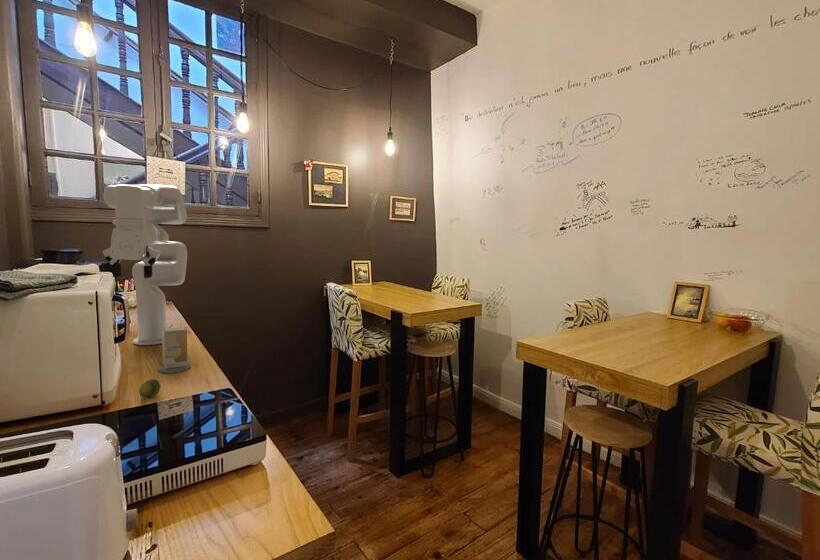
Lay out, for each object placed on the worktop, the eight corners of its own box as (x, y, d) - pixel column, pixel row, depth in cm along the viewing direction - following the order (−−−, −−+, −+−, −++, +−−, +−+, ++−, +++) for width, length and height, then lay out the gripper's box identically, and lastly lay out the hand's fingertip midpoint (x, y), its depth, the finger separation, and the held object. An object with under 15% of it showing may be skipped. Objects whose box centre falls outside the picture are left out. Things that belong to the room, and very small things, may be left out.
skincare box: (165, 369, 125) (163, 331, 124) (163, 365, 129) (162, 328, 127) (188, 366, 129) (187, 328, 128) (186, 362, 133) (185, 326, 131)
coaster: (167, 364, 133) (167, 361, 133) (195, 364, 133) (195, 362, 133) (152, 373, 124) (151, 371, 124) (182, 374, 124) (182, 371, 124)
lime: (137, 401, 104) (136, 382, 104) (146, 393, 109) (145, 376, 108) (155, 400, 105) (155, 382, 104) (164, 393, 110) (163, 375, 109)
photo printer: (176, 365, 132) (174, 328, 131) (161, 365, 131) (159, 328, 129) (183, 355, 142) (182, 321, 140) (169, 356, 141) (168, 321, 139)
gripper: (93, 223, 125) (96, 277, 127) (151, 225, 126) (153, 279, 128) (110, 223, 132) (112, 275, 134) (164, 225, 133) (166, 276, 135)
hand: (132, 277), depth 131 cm, fingers open, 9 cm apart
